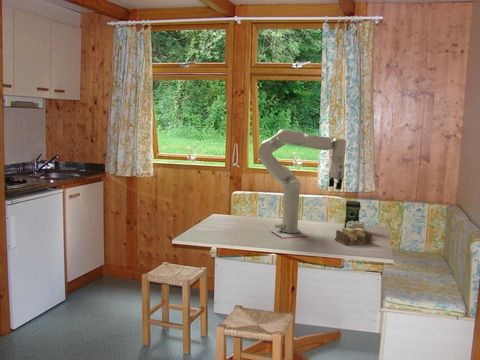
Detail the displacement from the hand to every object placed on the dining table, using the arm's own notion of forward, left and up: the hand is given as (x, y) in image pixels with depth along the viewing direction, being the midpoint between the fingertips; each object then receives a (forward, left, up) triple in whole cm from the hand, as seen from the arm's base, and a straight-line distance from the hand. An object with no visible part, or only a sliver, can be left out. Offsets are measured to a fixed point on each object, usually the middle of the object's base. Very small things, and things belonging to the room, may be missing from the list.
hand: (334, 187), depth 297 cm
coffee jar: (+21, +12, -29) cm, 38 cm away
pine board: (+5, -17, -25) cm, 31 cm away
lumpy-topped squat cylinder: (+14, -3, -29) cm, 33 cm away
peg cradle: (+5, -18, -29) cm, 34 cm away
